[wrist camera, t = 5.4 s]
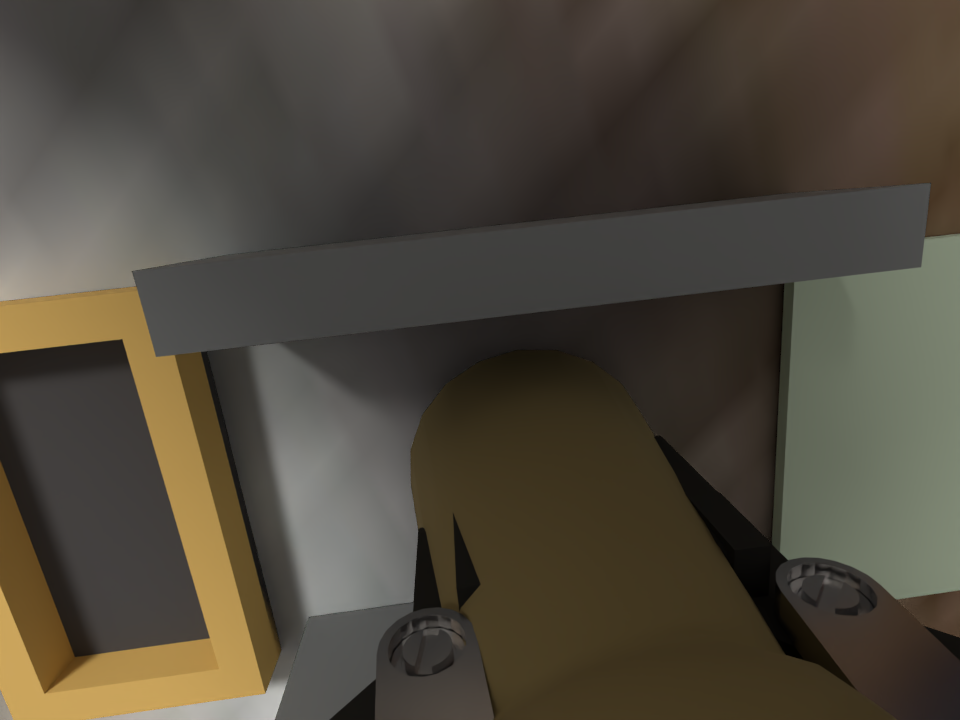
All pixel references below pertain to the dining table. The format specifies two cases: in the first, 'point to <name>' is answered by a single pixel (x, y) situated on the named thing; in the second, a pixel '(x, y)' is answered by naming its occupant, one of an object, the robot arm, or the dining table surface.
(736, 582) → the cork
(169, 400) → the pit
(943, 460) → the mat
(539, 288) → the grey parallel walls
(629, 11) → the dining table surface
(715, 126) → the dining table surface
